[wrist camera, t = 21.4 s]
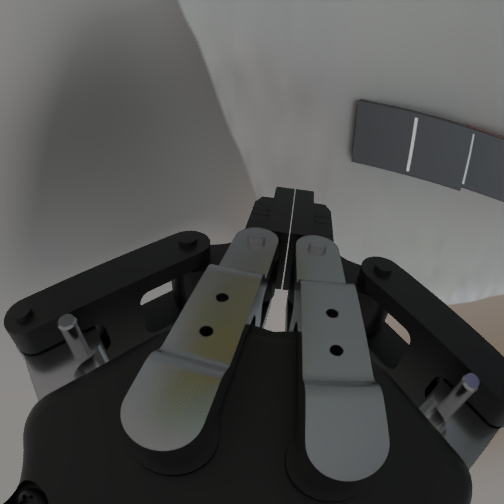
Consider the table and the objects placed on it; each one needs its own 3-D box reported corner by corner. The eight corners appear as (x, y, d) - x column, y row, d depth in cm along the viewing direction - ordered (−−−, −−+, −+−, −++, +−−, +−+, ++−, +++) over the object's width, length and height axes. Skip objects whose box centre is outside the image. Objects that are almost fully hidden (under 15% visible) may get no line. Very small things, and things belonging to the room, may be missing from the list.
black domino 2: (420, 112, 26) (516, 143, 21) (411, 167, 29) (503, 196, 25) (420, 114, 24) (522, 147, 20) (411, 172, 28) (507, 203, 23)
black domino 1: (361, 99, 26) (470, 127, 22) (354, 156, 30) (457, 184, 26) (357, 100, 25) (473, 130, 21) (351, 161, 28) (459, 191, 24)
